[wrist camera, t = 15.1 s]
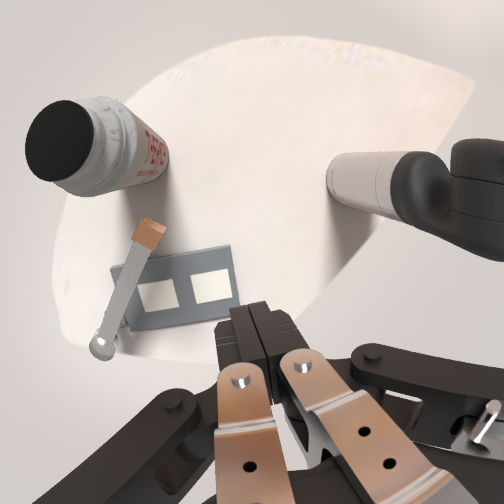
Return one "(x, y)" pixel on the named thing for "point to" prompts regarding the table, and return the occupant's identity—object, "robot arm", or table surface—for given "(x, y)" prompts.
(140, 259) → the swing arm
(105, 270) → the table surface
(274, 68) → the table surface
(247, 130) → the table surface
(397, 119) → the table surface
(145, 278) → the label tray
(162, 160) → the thermos bottle
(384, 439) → the robot arm
